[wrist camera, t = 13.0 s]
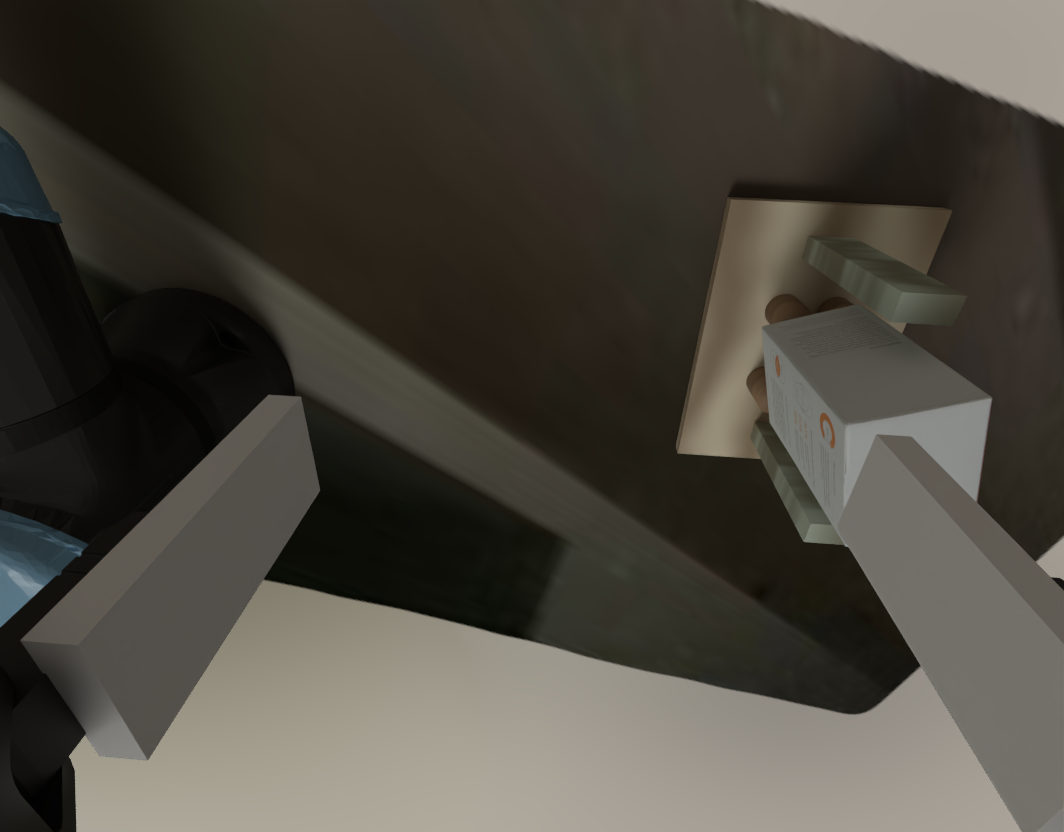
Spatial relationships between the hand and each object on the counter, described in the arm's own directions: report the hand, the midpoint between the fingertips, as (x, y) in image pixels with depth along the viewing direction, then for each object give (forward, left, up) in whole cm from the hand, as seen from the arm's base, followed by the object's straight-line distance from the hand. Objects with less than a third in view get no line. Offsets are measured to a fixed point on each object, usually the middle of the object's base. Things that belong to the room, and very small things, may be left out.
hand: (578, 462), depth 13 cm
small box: (+17, -8, -25) cm, 31 cm away
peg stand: (+17, -8, -29) cm, 34 cm away
